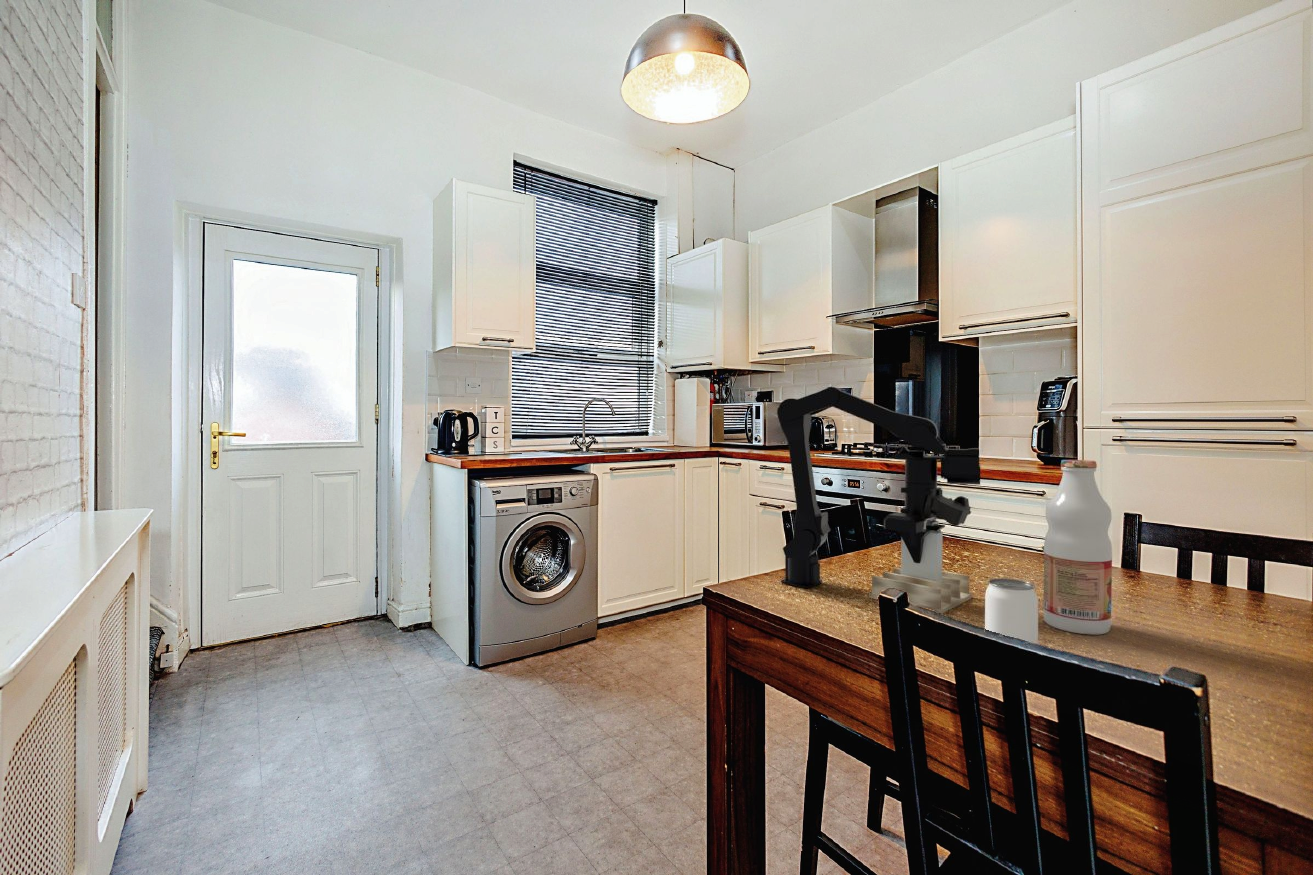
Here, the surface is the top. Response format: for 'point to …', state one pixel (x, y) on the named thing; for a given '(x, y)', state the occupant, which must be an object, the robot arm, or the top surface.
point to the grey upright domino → (924, 559)
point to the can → (1012, 609)
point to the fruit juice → (1078, 554)
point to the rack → (926, 589)
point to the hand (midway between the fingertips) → (920, 561)
